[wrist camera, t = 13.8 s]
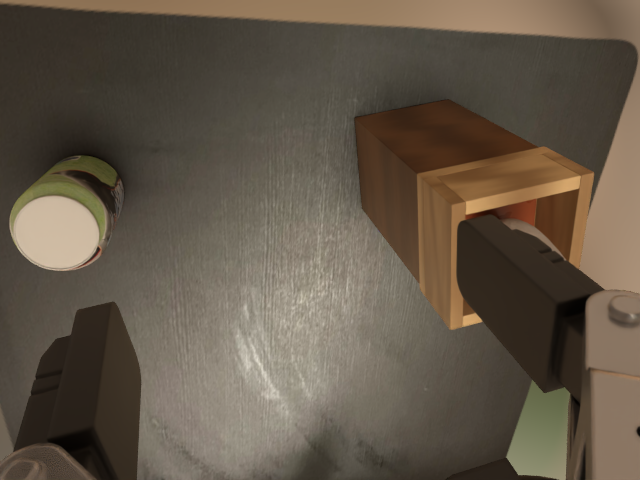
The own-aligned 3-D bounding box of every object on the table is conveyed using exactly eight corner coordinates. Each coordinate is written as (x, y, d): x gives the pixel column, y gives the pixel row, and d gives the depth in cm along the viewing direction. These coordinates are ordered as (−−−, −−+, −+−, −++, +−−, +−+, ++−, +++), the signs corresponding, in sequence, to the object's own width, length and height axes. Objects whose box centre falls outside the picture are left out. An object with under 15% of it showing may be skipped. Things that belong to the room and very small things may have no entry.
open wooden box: (419, 289, 40) (450, 330, 35) (416, 173, 35) (451, 204, 31) (532, 260, 41) (575, 297, 37) (544, 146, 36) (594, 172, 32)
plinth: (361, 208, 51) (421, 287, 40) (354, 117, 47) (418, 175, 35) (448, 189, 53) (530, 259, 41) (449, 98, 48) (542, 148, 36)
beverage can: (66, 229, 45) (38, 311, 35) (23, 149, 41) (-23, 214, 31) (139, 206, 46) (132, 280, 36) (103, 125, 42) (84, 182, 32)
